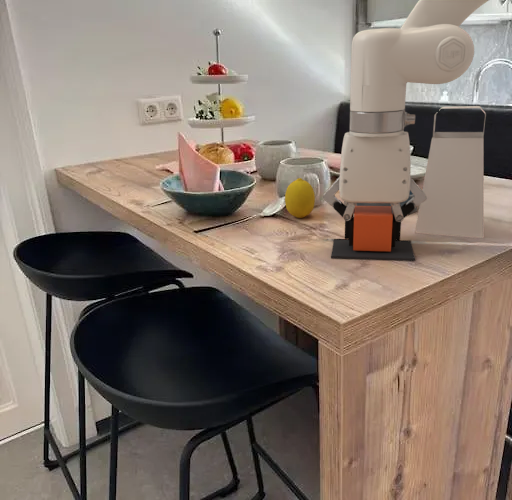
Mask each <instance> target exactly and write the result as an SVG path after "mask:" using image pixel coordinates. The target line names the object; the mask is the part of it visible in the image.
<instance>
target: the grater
mask: <svg viewBox="0 0 512 500" xmlns="http://www.w3.org/2000/svg"><path fill="white" fill-rule="evenodd" d="M441 109H445V110H446V109H451V110H452V109H480V110H481V111H482V112H483V113H484V118H486V117H487V113H486V112H485V110H484V109H483V108H482V106H481V105H465V106H464V105H463V106H461V105H460V106H459V105H456V106H452V105H451V106H441V107H440V110H441ZM436 121H437V113H435V114H434V116H433V130H432V137H431V141H430V147H429V151H428V152H429V153H428V157H427V163H426V170H425V174H424V180H423V184H422V189H421V190H422V191H423V192H424V193H425V194H426V196H427V199H426V200H425V201H424V202H423V203H421V204H420V206H419V209H418V211H417V218H416V223H415V229H414V234H424V235H436V236H447V237H449V236H450V237H461V238H462V237H463V238H473V239H474V238H477V239H484V237H485V236H484V235H485V232H484V231H485V229H484V228H485V227H484V224H485V223H484V220H485V219H484V215H485V214H484V212H485V211H484V208H485V206H484V204H485V203H484V202H485V201H484V198H485V197H484V196H485V195H484V191H485V189H484V185H485V184H484V181H485V180H484V179H485V178H484V169H485V167H484V162H485V161H484V157H485V156H484V153H485V151H484V135H485V130H483V131H436ZM485 125H486V120H484V121H483V128H485Z"/></svg>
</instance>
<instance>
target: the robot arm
mask: <svg viewBox="0 0 512 500" xmlns="http://www.w3.org/2000/svg"><path fill="white" fill-rule="evenodd" d="M489 1H490V0H418V1H417V2H416V3H415V5H414V7H413V8H412V9H411V11H410V13H409V14H408V15H407V17H406V18H405V20H404V22H403V24H402V25H401V27H400V28H398V27H397V28H396V27H385V28H384V27H383V28H370V29H365V30H360V31H359V32H356V34H354V35H353V38H352V40H351V50H350V51H351V52H350V53H351V55H350V56H351V57H350V93H349V94H350V96H349V99H350V100H349V131H347V132H345V133H344V136H343V139H342V146H341V154H340V164H339V177H337V178H336V179H335V181H333V183H332V184H331V185H330V186H329V187H328V188H327V189H326V190H325V191H324V192H323V195H322V199H323V200H324V201H325V202H326V203H327V204H328V205H330V206H331V207H332V208H333V210H335V211H336V213H338V214H339V215H340V216H341V218H342V219H343V221H344V239H349V246H352V245H353V239H354V213H353V212H354V209H355V207H356V204H357V203H390V204H391V207H392V210H393V214H392V215H393V221H392V239H391V247H395V241H396V240H401V230H402V222H403V221H404V219H405V218H406V217H407V216H409V215H410V214H409V213H411V212H412V211H413V210H414V208H416V207H418V206H419V205H420V204H421V203H423V202H424V201H425V200H426V199H427V196H426V194H425V193H424V192H423V191H422V190H423V189H422V188H421V187H420V185H418V183H416V181H415V180H414V179H413V178H412V177H411V170H412V169H411V168H412V167H411V163H412V162H411V143H410V136H409V132H408V131H404V130H405V128H406V127H407V126H410V125H416V124H415V123H416V114H410V113H408V112H407V111H406V99H407V98H406V97H407V96H406V95H407V83H411V84H413V83H414V84H423V85H424V84H426V85H442V84H443V85H444V84H448V83H451V82H453V81H455V80H457V79H459V78H460V77H462V76H463V75H464V74H465V72H466V71H468V69H469V68H470V66H471V64H472V63H473V60H474V56H475V45H474V41H473V39H472V37H471V36H470V34H469V33H468V32H467V31H466V30H465V29H464V28H462V27H460V26H461V25H462V24H463V23H464V22H465V21H466V19H468V18H469V17H470V16H471V15H472V14H474V12H475V11H476V10H478V9H479V8H480V7H482V6H483V5H484V4H486V3H487V2H489ZM410 191H411V192H412V193H413V194H414V197H413V198H412V199H411V200H409V201H407V202H406V203H405V204H404V205H403V206H400V202H404V201H406V200H407V199H408V197H409V193H410ZM338 192H339V198H340V199H338V198H337V197H336V194H337V193H338ZM341 200H342V201H341ZM343 201H346V202H347V204H346V206H345V205H344V203H343ZM411 214H412V213H411Z"/></svg>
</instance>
